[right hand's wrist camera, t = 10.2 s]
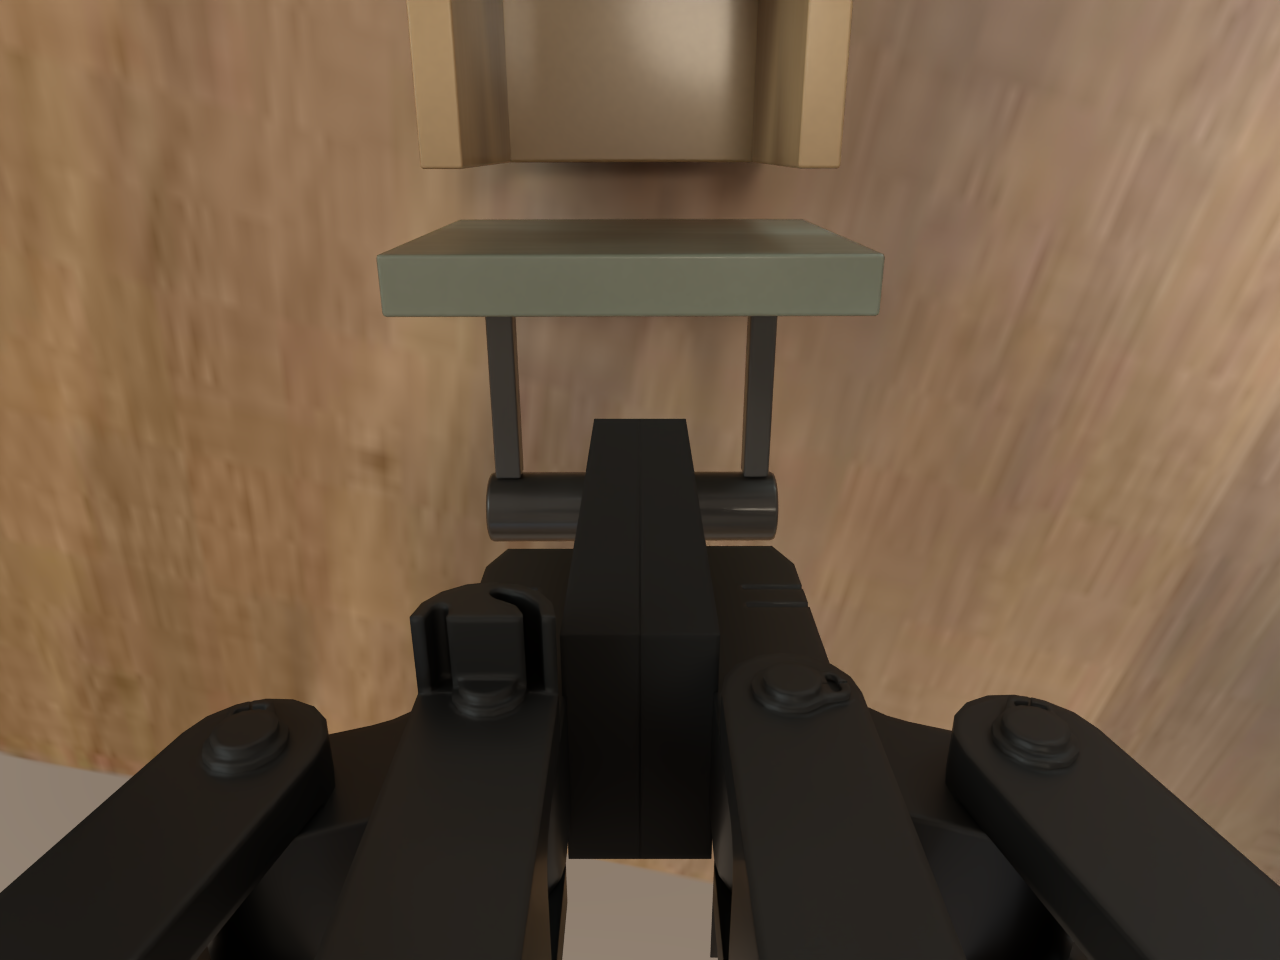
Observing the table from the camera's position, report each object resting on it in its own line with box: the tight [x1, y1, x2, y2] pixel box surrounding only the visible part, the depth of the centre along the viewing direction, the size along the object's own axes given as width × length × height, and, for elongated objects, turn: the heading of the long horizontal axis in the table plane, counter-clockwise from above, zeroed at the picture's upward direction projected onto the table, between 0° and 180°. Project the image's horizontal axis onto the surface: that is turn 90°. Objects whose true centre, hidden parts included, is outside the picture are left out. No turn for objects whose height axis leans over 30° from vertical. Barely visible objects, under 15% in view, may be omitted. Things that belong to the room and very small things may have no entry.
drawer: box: [377, 0, 885, 541], centre depth 19 cm, size 23×10×8 cm, turn 0°
